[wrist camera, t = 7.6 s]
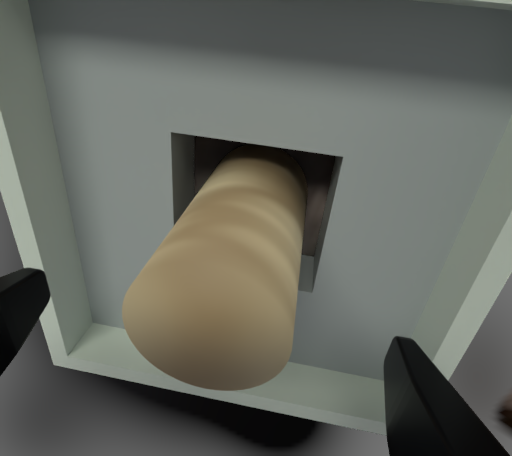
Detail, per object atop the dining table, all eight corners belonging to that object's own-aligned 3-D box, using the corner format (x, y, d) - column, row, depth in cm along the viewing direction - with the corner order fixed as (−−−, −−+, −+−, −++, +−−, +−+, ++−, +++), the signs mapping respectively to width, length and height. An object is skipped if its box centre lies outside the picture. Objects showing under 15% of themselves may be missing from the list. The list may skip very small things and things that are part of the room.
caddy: (553, -14, 10) (690, -33, 6) (394, 352, 18) (412, 441, 14) (46, -62, 12) (-89, -100, 8) (106, 297, 20) (53, 364, 16)
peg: (315, 151, 14) (306, 281, 7) (299, 238, 16) (280, 404, 9) (214, 137, 14) (112, 247, 7) (211, 223, 16) (130, 372, 9)
